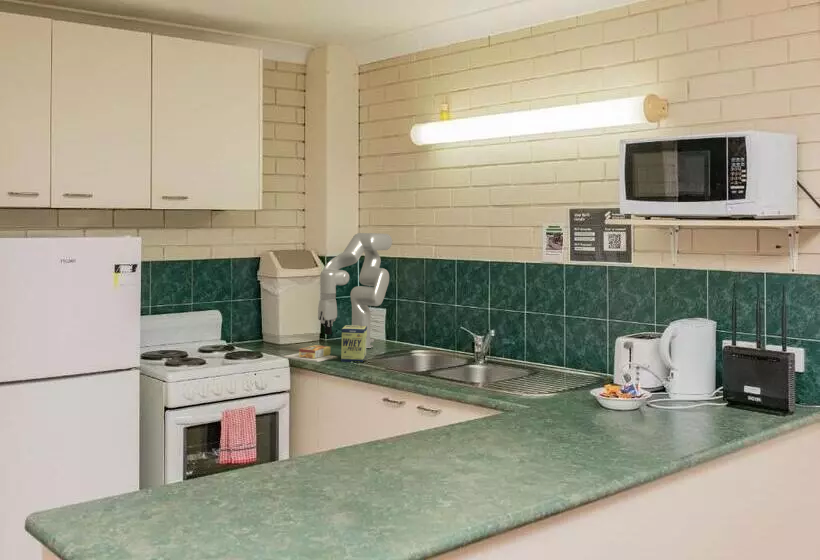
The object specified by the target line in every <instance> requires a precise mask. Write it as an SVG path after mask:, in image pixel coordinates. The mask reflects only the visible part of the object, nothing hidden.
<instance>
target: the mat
mask: <svg viewBox="0 0 820 560" xmlns="http://www.w3.org/2000/svg"><path fill="white" fill-rule="evenodd" d="M282 357H283V358H286V359H292V360H293V359H294V360H301V361H308V362H315V363H318V362H319V363H320V362H322V361H324V362H325V361H328V360H334V359H338V356H337V355H331V354H330V355H327V356H323V357H319V358H315V359H313V358H304V357H299V352H298V353H293V354H288V355H283V356H282Z"/></svg>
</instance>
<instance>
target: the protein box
mask: <svg viewBox="0 0 820 560" xmlns="http://www.w3.org/2000/svg"><path fill="white" fill-rule="evenodd" d="M366 343H367V326H358V325H352V324H351V325H350V324H346V325H344V326H343V327H342V328H341V344H340V345H341V347H340V348H341V351H340V356H341V357H340V358H341V359H340V361H341V362H342V363H352V362H351V361H360V362H363V360H364V358H365V357H366V358H367V349H366ZM364 361H365V360H364ZM363 363H364V362H363Z"/></svg>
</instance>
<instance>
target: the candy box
mask: <svg viewBox="0 0 820 560" xmlns="http://www.w3.org/2000/svg"><path fill="white" fill-rule="evenodd" d="M331 348H332V347H331V346H327V345H319V344H315V345H310V346H304V347H301V348H299V349H298V353H299V357H304V358H313V359H315V358H319V357H323V356H327V355H330V356H331V353H332V352H331V350H332V349H331Z"/></svg>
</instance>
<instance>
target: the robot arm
mask: <svg viewBox="0 0 820 560" xmlns="http://www.w3.org/2000/svg"><path fill="white" fill-rule="evenodd" d="M392 245H393V239H392V236H390V234H388V233H380V232H379V233H375V232H374V233H373V232H369V233H368V232H357V233H356V234H354V235H353V237H352V238H351V239H350V241H349V243H348V244H347V246H346V247H345V249H344V250H343V252H341V253H340V254H338V255H336V256H334V257H333V258H332V259H330V260H329V261H327V263H326V264H325V266H324V268H323V269H322V271H321V272H320V274H319V279H320V280H319V285H320V286H319V287H320V288H319V290H320V291H319V293H320V295H319V297H320V298H319V301H318V308H317V311H318V313H317V319H318V321H320V324H322V325H323V327H324V335H328V336H329V335H332V334H333V331H332V329H333V328H332V327H333V324H334V322H335V321H336V319H337V318H338V306H337V300H336V299H337V288H336V287H337V286H344V285H347V284H348V283H349V281H350V274H349V272H347V270H343V268H345V267H349V266H352V265H354V264H357V263H358V261H359V260H360V258H361V257H362V255H363V253H364V260H363V263H362V265H361V266H362V267H361V269H360V273H359V278H358V281H359V283H360V284H361V285H358V286H357V285H356V286H354V287H353V288H352V289H351V291H350V302H351V325H358V326H367V343H366V348H371V347H374V345H373V344H371V343H374V342H375V338H371V318H372V317H371V315H372V314H371V310H370V307H369V306H371V307H379V306H381V305H382V303H383V301H384V299H385V297H386V294H387V293H386V292H387V289H388V286H389V283H390V273H389V271H388V270H387V269H385V268H383V267H380V266H381V262H382V261H381V256H380V254H379V252H378V251H388V250H390V249H391V248H392ZM371 349H372V348H371Z"/></svg>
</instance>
